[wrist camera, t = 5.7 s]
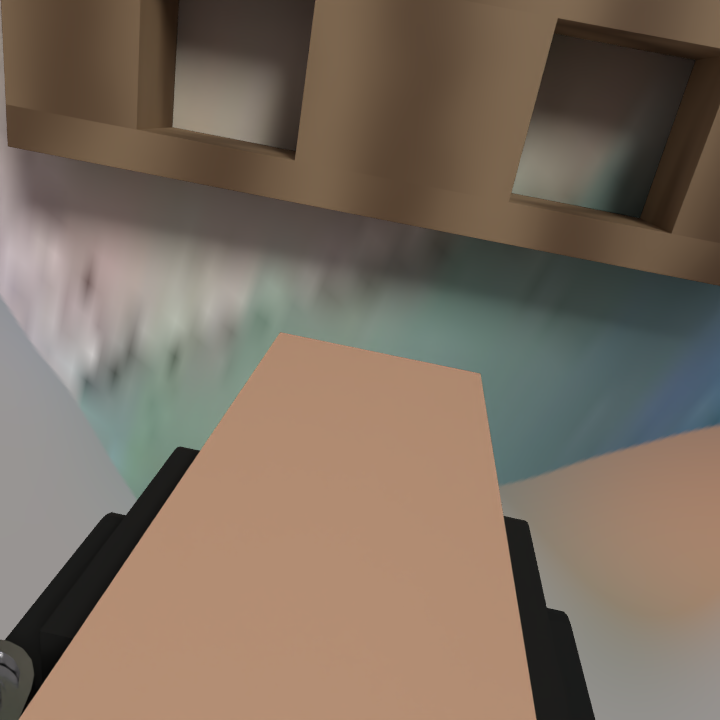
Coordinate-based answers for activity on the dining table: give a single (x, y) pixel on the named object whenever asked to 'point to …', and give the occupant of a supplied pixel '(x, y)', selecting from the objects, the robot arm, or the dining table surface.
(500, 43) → the rail
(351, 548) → the peg
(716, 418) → the dining table surface
